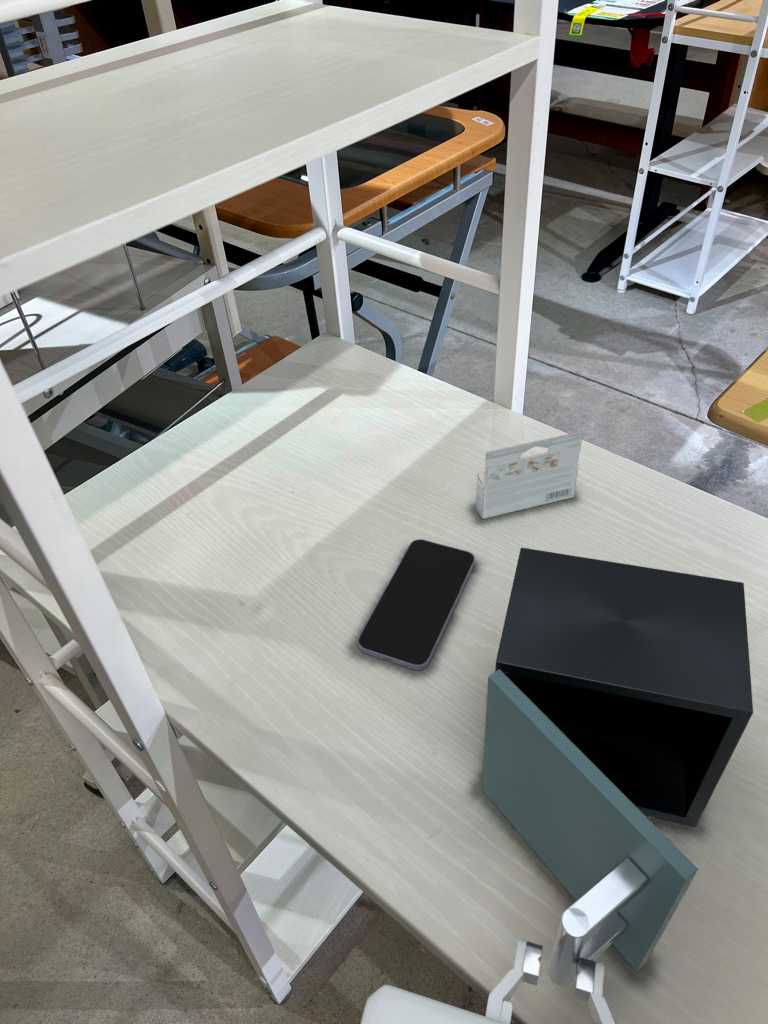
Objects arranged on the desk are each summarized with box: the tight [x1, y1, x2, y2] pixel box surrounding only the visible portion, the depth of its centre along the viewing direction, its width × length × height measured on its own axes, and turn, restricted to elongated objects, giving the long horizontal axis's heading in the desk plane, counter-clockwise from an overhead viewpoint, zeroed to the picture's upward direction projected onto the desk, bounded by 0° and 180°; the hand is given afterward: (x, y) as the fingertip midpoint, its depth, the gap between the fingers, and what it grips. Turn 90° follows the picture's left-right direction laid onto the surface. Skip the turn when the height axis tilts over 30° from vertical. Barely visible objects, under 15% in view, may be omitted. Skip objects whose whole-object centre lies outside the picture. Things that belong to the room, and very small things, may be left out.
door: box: [481, 669, 699, 987], centre depth 49 cm, size 7×16×16 cm, turn 35°
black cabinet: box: [494, 547, 754, 828], centre depth 57 cm, size 11×16×16 cm
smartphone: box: [357, 538, 476, 671], centre depth 74 cm, size 7×1×15 cm
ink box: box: [475, 430, 585, 520], centre depth 81 cm, size 2×11×10 cm, turn 105°
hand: (559, 953), depth 44 cm, fingers closed
